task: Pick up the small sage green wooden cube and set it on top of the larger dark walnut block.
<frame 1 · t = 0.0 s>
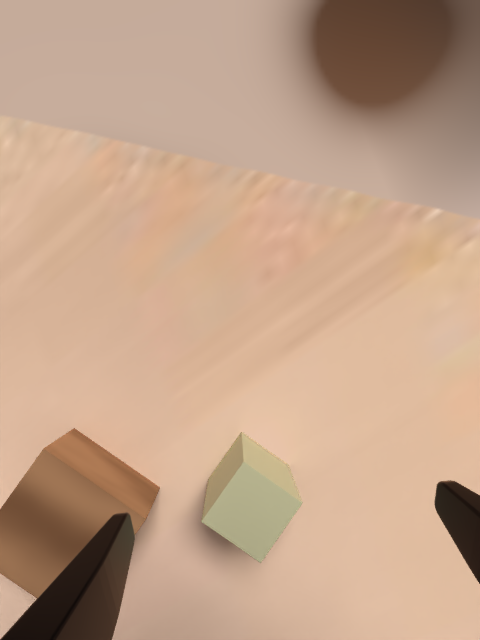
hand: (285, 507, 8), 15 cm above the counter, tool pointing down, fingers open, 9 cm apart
green cube: (248, 471, 23), on the counter
walnut block: (88, 498, 23), on the counter
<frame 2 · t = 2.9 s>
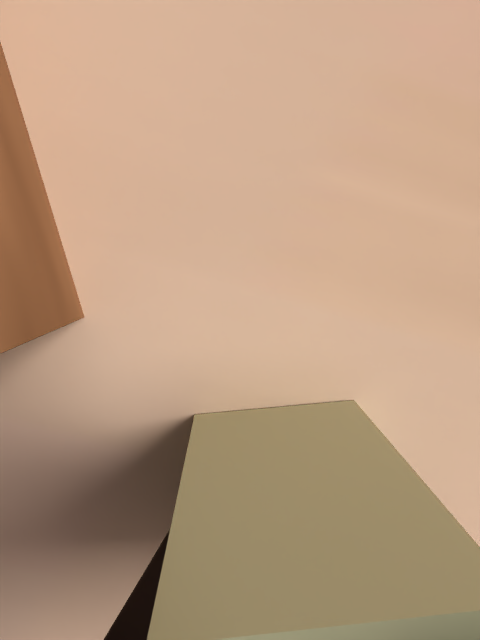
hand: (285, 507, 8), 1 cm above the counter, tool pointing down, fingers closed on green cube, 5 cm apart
green cube: (277, 473, 9), on the counter, touching gripper
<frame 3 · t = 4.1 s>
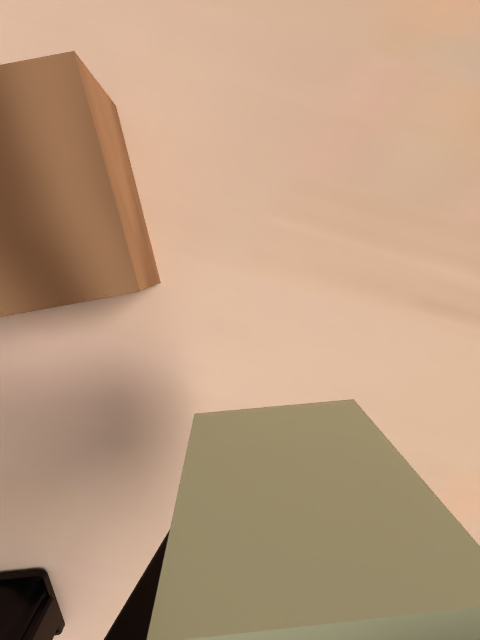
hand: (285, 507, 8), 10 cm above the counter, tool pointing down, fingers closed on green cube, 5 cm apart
green cube: (277, 472, 9), point 8 cm above the counter, touching gripper
walnut block: (62, 216, 15), on the counter
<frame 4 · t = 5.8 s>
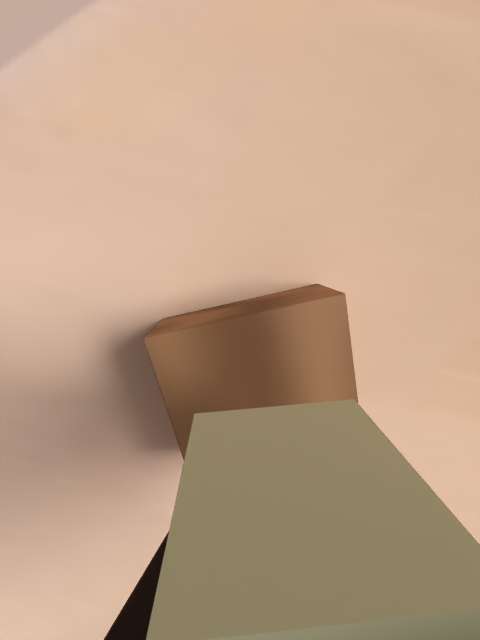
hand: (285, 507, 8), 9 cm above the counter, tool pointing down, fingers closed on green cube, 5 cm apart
green cube: (277, 472, 9), point 8 cm above the counter, touching gripper
walnut block: (255, 369, 17), on the counter
when the fingers open (6 cm above the counter, at t = 7.1 s): green cube drops 2 cm, resting on walnut block.
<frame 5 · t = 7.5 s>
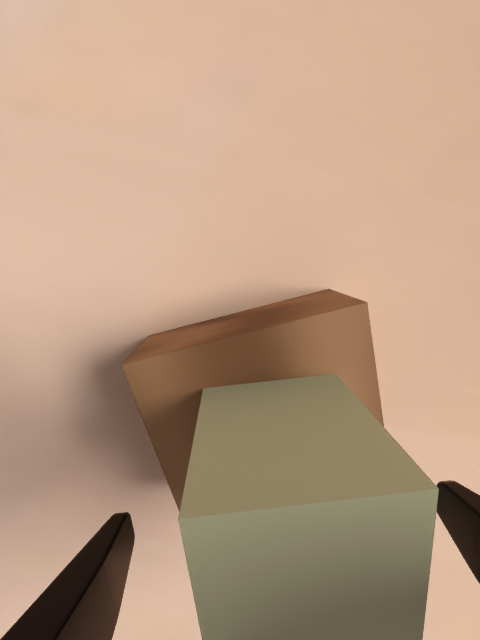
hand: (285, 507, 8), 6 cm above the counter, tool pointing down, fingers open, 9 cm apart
green cube: (274, 438, 10), point 4 cm above the counter, touching walnut block
walnut block: (259, 389, 14), on the counter, touching green cube
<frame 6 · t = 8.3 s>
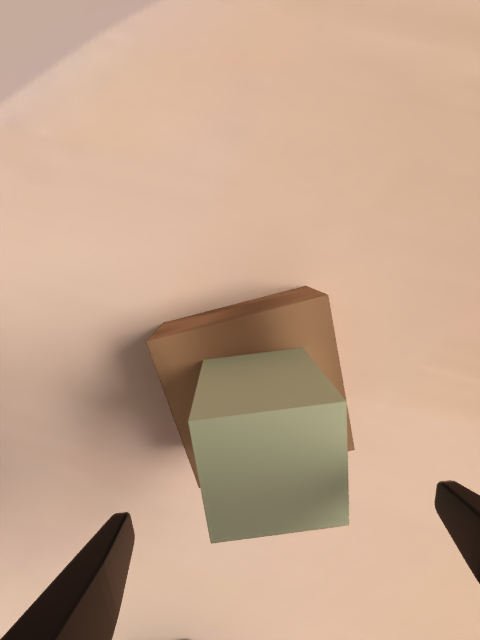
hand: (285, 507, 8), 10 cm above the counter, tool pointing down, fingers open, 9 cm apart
green cube: (258, 398, 14), point 4 cm above the counter, touching walnut block
walnut block: (251, 367, 18), on the counter, touching green cube
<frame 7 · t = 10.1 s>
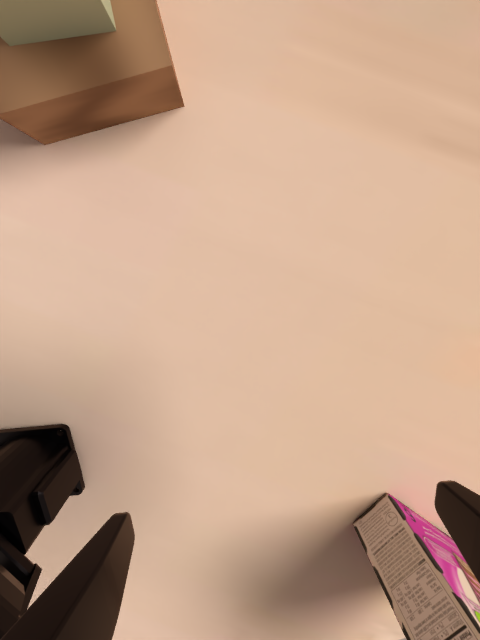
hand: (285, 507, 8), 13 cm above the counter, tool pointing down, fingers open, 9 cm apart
walnut block: (88, 43, 16), on the counter, touching green cube
candy bar box: (406, 530, 26), on the counter
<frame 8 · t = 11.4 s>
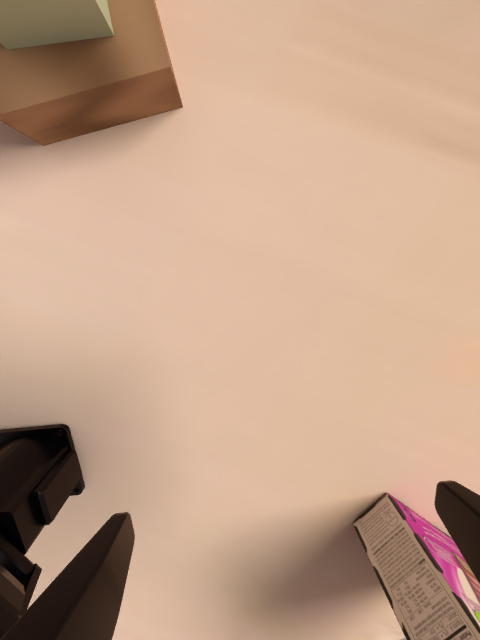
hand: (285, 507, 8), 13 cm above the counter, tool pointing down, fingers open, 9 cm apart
walnut block: (87, 44, 16), on the counter
candy bar box: (406, 529, 26), on the counter
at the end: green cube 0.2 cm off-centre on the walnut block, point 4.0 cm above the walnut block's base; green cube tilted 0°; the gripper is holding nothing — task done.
